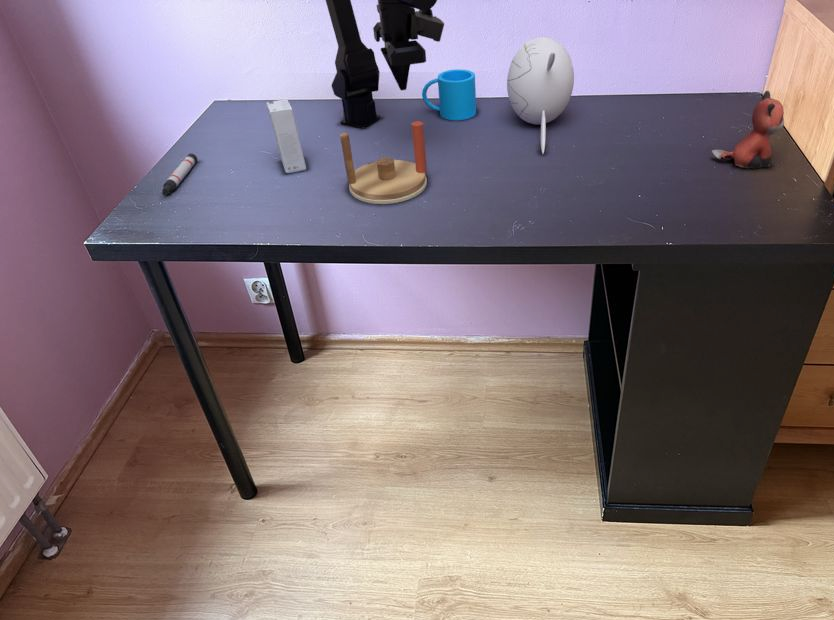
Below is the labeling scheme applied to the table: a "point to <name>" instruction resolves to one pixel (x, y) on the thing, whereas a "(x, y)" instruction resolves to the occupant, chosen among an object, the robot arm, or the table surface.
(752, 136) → the stuffed fox
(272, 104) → the cosmetic box
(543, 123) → the cracked white egg
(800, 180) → the table surface
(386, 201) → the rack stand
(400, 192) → the wooden peg board
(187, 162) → the marker
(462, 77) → the mug
